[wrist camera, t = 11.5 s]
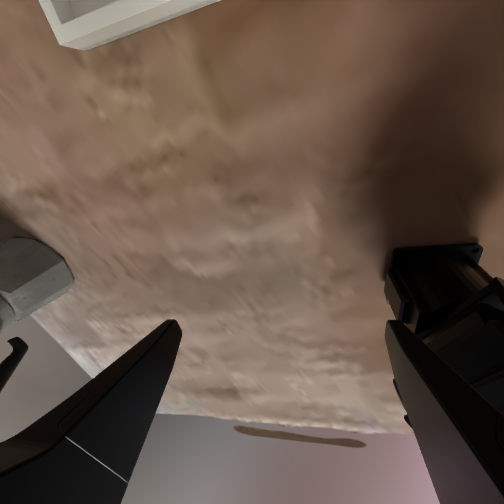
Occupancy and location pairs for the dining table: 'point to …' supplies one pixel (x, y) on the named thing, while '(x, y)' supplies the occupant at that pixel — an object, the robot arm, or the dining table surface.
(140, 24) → the ceramic tray
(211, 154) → the dining table surface
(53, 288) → the coffeepot
